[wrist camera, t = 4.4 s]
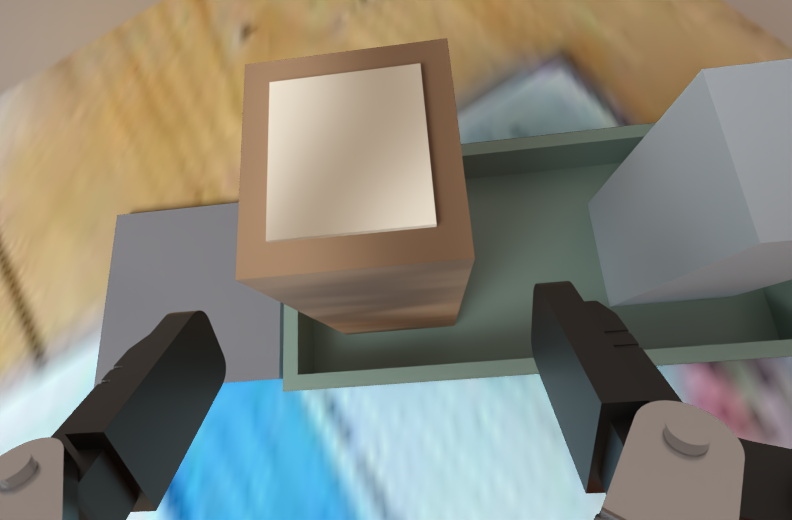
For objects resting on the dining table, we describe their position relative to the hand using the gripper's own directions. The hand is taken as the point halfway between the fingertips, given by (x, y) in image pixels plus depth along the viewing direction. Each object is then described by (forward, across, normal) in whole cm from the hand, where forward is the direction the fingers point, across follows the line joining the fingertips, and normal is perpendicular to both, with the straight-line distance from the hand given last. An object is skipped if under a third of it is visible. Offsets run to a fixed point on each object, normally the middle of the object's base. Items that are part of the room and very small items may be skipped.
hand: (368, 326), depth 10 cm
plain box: (+9, -12, +4) cm, 15 cm away
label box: (+9, 0, +4) cm, 10 cm away
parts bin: (+9, -6, +4) cm, 12 cm away
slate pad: (+9, +10, +4) cm, 14 cm away
